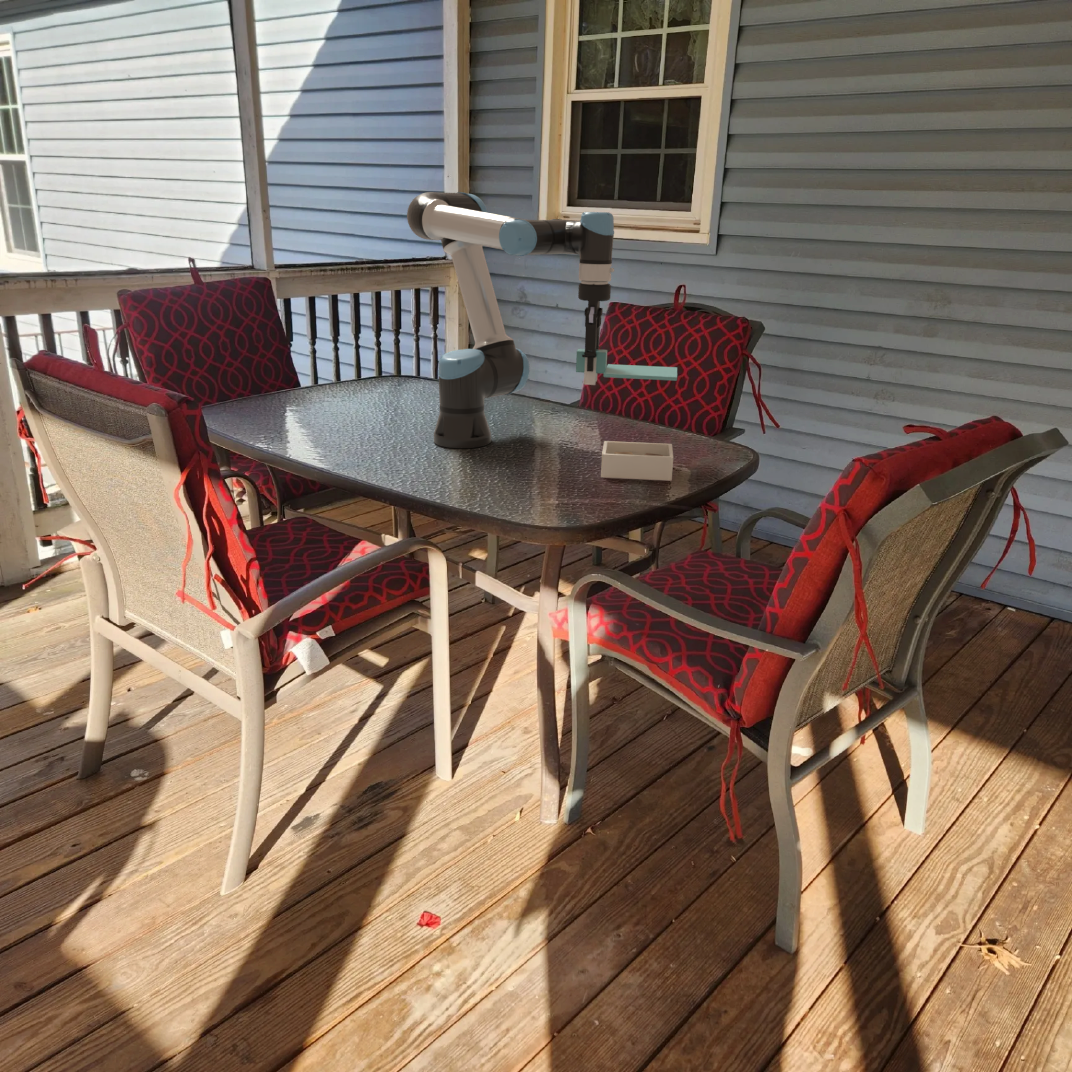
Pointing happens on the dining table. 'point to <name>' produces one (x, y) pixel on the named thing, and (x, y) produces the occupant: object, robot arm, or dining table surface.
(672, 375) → the lid
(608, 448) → the tub
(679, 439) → the dining table surface
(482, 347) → the robot arm
